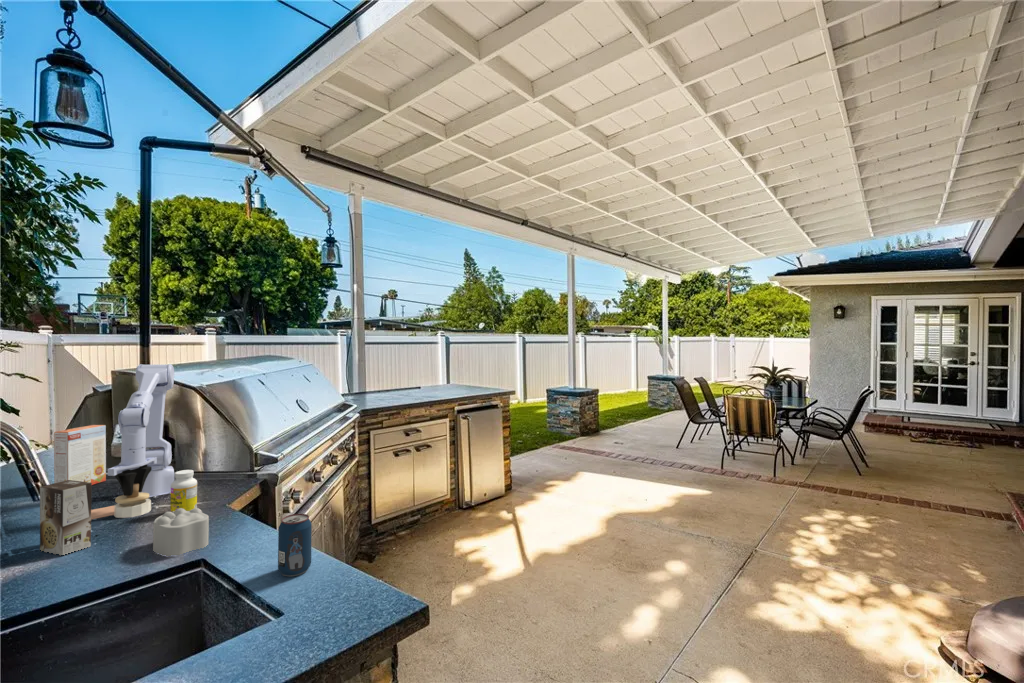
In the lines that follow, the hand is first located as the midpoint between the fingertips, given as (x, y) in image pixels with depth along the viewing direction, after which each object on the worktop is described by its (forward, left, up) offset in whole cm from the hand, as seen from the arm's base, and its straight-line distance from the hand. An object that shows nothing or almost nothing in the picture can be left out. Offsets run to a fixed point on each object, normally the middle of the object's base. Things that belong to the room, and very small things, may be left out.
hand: (133, 493), depth 145 cm
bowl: (0, 0, -6) cm, 6 cm away
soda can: (-15, +71, -6) cm, 73 cm away
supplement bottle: (-10, +11, -6) cm, 16 cm away
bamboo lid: (0, 0, -2) cm, 2 cm away
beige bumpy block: (-2, +36, -7) cm, 37 cm away
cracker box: (+5, -48, -6) cm, 49 cm away
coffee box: (+17, +17, -6) cm, 25 cm away
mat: (+6, -7, -6) cm, 11 cm away
